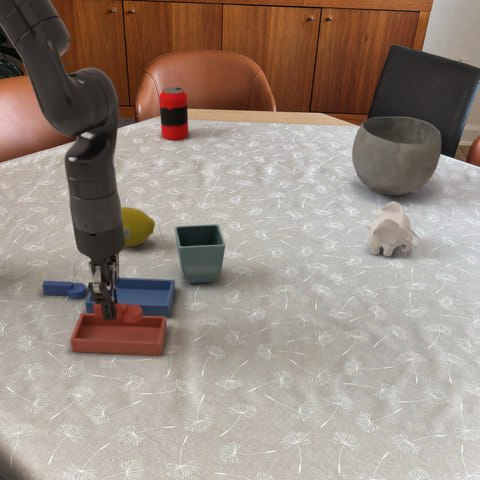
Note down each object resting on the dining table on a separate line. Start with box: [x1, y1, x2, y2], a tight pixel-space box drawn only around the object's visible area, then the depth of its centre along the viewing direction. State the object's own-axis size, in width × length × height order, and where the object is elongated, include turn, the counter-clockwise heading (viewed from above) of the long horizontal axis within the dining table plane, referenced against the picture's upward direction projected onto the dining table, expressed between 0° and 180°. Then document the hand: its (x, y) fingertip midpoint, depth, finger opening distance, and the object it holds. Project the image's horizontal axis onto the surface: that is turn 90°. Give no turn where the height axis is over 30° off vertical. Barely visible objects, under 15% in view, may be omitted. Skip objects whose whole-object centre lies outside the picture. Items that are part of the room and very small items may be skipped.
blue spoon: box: [41, 280, 88, 300], centre depth 123 cm, size 8×4×2 cm, turn 88°
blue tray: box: [84, 277, 176, 318], centre depth 121 cm, size 15×9×2 cm, turn 88°
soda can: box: [158, 86, 189, 141], centre depth 181 cm, size 8×8×12 cm
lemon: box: [121, 206, 156, 248], centre depth 136 cm, size 11×8×8 cm
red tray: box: [69, 312, 168, 356], centre depth 113 cm, size 15×8×2 cm, turn 88°
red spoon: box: [93, 303, 143, 323], centre depth 109 cm, size 8×4×2 cm, turn 88°
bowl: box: [351, 116, 442, 196], centre depth 156 cm, size 20×20×15 cm
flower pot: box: [173, 223, 226, 284], centre depth 126 cm, size 9×9×9 cm
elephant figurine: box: [363, 201, 421, 257], centre depth 136 cm, size 10×12×9 cm
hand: (111, 315), depth 110 cm, fingers closed on red spoon, 1 cm apart
